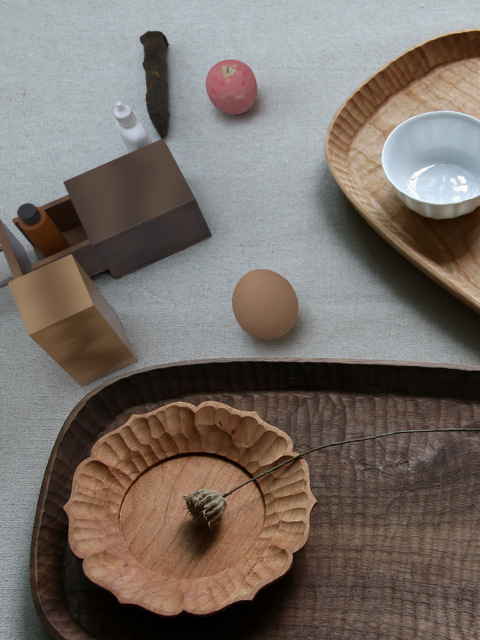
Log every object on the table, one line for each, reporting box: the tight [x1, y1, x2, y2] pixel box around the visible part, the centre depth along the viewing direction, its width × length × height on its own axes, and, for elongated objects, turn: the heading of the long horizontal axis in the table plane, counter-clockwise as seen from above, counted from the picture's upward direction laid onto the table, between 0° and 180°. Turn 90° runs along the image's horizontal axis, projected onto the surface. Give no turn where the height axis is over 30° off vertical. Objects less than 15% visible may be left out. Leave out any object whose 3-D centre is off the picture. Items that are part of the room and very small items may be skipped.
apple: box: [205, 58, 258, 115], centre depth 120 cm, size 7×7×8 cm
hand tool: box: [139, 30, 171, 139], centre depth 123 cm, size 19×4×5 cm, turn 7°
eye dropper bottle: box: [113, 101, 153, 153], centre depth 115 cm, size 4×6×12 cm
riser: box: [8, 254, 139, 388], centre depth 101 cm, size 8×8×15 cm
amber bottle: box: [16, 202, 71, 258], centre depth 107 cm, size 4×4×10 cm
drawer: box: [0, 193, 109, 290], centre depth 110 cm, size 18×10×7 cm, turn 118°
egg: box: [231, 268, 300, 341], centre depth 103 cm, size 8×8×11 cm
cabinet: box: [63, 138, 213, 281], centre depth 112 cm, size 15×12×9 cm
